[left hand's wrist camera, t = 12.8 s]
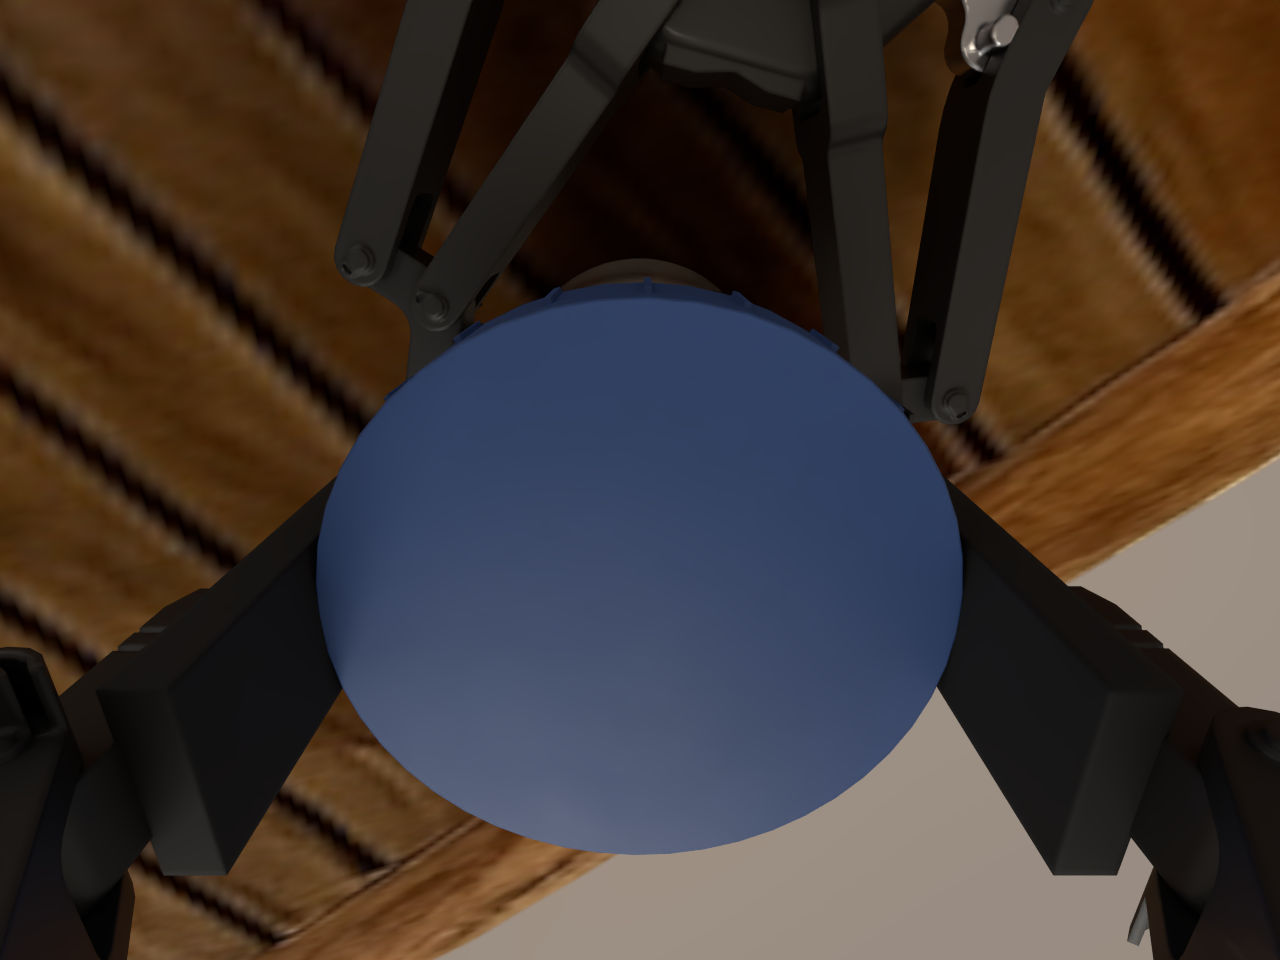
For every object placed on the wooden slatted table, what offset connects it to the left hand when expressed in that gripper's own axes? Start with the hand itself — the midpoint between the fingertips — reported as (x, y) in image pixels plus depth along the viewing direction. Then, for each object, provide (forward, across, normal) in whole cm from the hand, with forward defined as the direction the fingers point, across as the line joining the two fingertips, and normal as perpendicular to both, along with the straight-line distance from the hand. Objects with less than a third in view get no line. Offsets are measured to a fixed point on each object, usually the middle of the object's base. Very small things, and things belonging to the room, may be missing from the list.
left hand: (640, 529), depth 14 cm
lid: (-3, 0, 0) cm, 3 cm away
